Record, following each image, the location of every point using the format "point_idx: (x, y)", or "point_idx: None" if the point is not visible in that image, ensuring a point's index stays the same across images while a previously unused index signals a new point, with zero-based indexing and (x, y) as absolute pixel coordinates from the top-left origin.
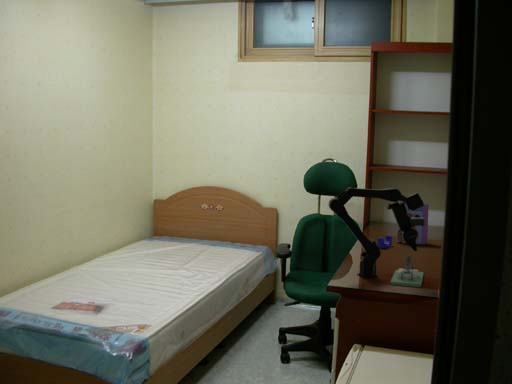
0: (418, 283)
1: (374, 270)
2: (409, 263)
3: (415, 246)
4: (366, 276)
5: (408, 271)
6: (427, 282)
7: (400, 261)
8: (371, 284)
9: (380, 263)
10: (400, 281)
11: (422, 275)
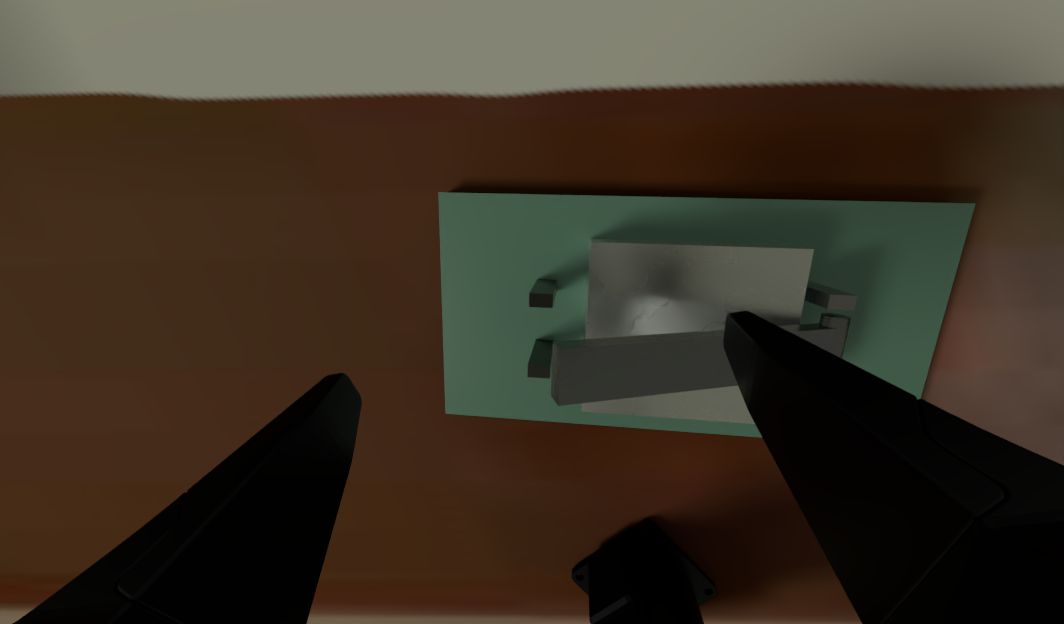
0: (942, 226)
1: (644, 572)
2: (709, 349)
3: (828, 372)
4: (713, 590)
5: (845, 338)
6: (735, 150)
7: (55, 374)
8: None
9: None
10: (887, 375)
11: (582, 198)
